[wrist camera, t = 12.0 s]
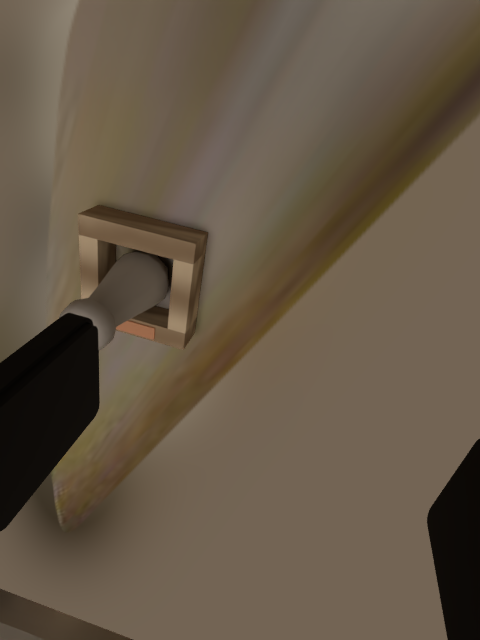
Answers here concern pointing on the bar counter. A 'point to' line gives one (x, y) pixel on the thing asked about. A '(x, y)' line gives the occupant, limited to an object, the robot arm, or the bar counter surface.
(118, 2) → the bar counter surface
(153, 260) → the salt shaker
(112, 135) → the bar counter surface
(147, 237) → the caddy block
